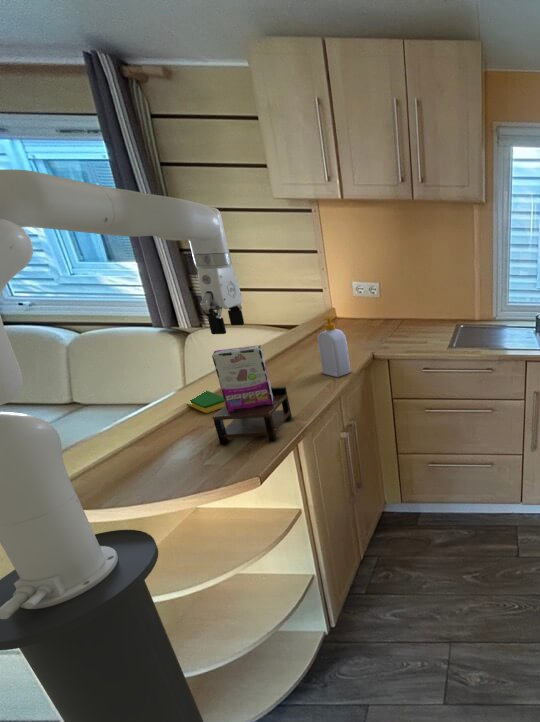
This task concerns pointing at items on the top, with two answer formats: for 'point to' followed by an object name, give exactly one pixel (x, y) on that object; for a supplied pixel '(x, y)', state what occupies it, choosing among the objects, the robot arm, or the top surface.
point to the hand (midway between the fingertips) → (228, 329)
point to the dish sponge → (208, 402)
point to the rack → (254, 419)
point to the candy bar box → (243, 377)
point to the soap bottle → (333, 350)
